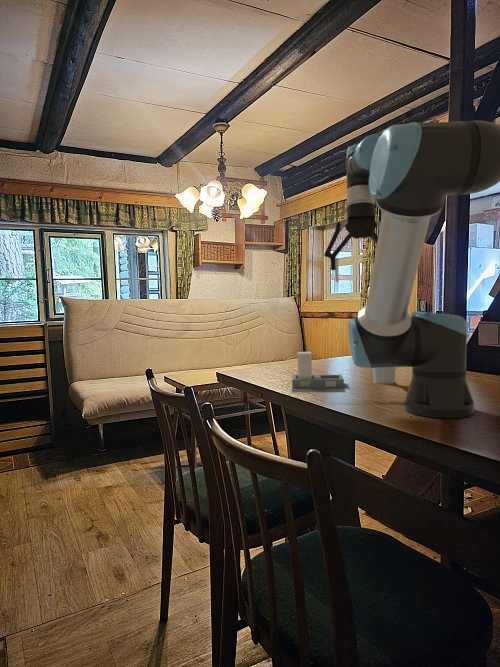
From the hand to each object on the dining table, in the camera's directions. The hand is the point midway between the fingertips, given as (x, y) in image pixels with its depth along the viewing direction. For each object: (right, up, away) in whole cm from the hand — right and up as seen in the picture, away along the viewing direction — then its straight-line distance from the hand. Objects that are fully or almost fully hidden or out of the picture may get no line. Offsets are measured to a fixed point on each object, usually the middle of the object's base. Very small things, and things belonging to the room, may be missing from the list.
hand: (361, 281), depth 122 cm
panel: (-11, -31, +10) cm, 35 cm away
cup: (+10, -31, +12) cm, 35 cm away
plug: (-14, -30, +10) cm, 35 cm away
